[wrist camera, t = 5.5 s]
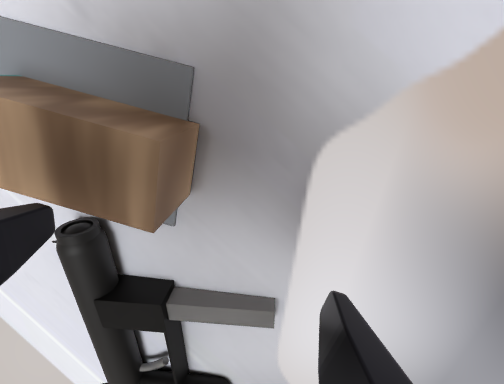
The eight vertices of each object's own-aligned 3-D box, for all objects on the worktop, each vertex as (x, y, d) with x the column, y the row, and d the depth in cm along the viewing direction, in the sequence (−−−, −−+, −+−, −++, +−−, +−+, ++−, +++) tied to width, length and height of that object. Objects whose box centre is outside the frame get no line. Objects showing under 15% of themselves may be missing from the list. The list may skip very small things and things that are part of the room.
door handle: (277, 249, 14) (21, 236, 16) (269, 433, 22) (100, 413, 24) (277, 220, 17) (62, 211, 19) (270, 391, 25) (120, 376, 27)
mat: (193, 67, 13) (192, 67, 13) (175, 224, 17) (173, 226, 17) (-17, 12, 14) (-21, 11, 13) (15, 178, 18) (12, 178, 18)
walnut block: (160, 141, 10) (-90, 72, 10) (153, 233, 12) (-58, 170, 12) (199, 124, 14) (18, 75, 14) (189, 194, 16) (30, 148, 16)
